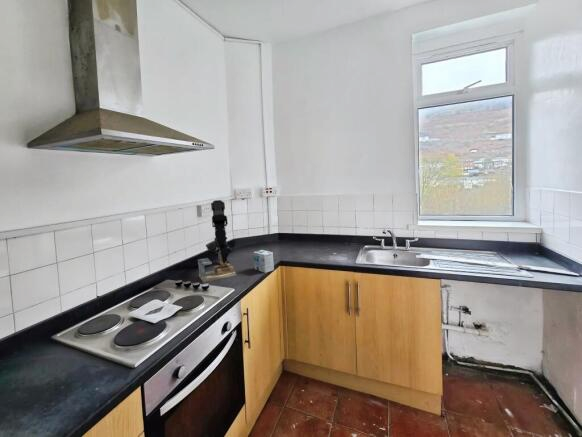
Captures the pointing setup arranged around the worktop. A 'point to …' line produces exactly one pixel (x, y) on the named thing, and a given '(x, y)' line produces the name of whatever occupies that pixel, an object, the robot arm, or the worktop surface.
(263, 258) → the light bulb box
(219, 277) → the awning socket
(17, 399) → the worktop surface
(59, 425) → the worktop surface
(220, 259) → the peg
